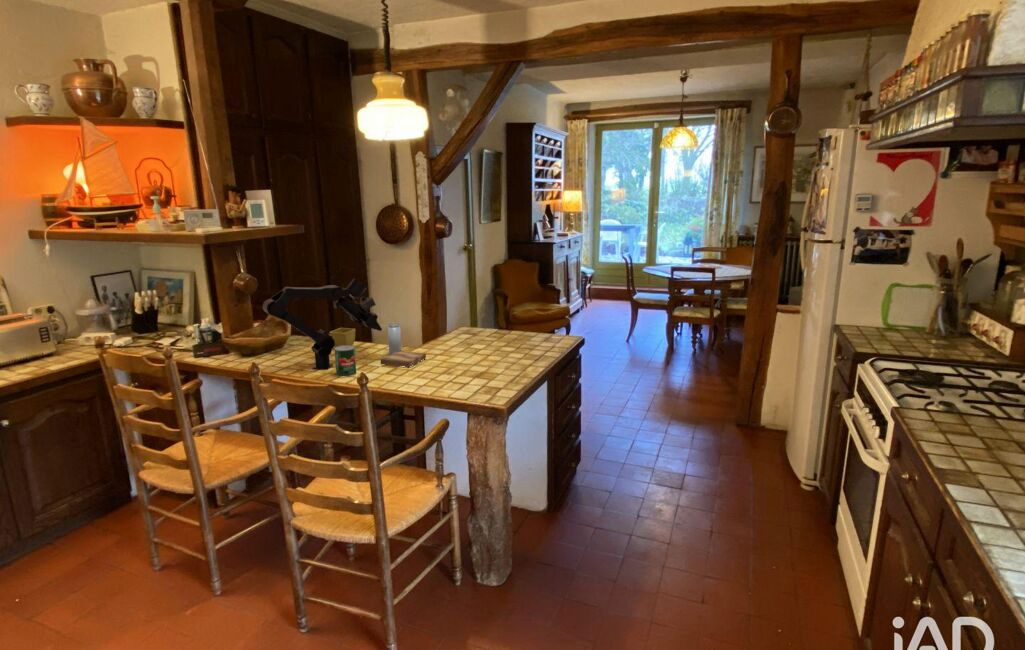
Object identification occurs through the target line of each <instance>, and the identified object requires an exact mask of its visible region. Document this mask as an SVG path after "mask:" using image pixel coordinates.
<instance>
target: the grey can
mask: <svg viewBox="0 0 1025 650" xmlns="http://www.w3.org/2000/svg"><path fill="white" fill-rule="evenodd" d="M387 339H388V353H389V354H393V353H395V352H397V351H402V350H403V349H402V331H401V325H400V323H390V324H388V326H387Z"/></svg>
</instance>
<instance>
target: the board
mask: <svg viewBox="0 0 1025 650" xmlns="http://www.w3.org/2000/svg"><path fill="white" fill-rule="evenodd" d="M425 358H426V359H427V353H422V352H412V351H405V350H404V351H397V352H395V353H393V354H390V355H387V356H384V357H382V358H380V365H381V364H385V365H384V366H388V365H394V366H393V367H396V366H405V367H410V366H412V365H414V364H416V363H418V362H420V361H421V360H423V359H425ZM420 363H421V362H420ZM418 364H419V363H418ZM416 365H417V364H416ZM414 366H415V365H414ZM405 367H404V368H405ZM412 367H413V366H412ZM410 368H411V367H410Z"/></svg>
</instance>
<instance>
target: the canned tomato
mask: <svg viewBox="0 0 1025 650" xmlns="http://www.w3.org/2000/svg"><path fill="white" fill-rule="evenodd" d="M333 349H334V362H335V363H334V364H335V375H336V376H337V377H339V376H348V377H351V376H350V375H353V376H355V375H356V374H357V364H356V353H355V352H356V351H355V350H356V349H355V346H354V345H353V346H351V345H343V346H338V347H334V348H333ZM354 374H355V375H354Z"/></svg>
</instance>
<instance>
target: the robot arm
mask: <svg viewBox="0 0 1025 650" xmlns="http://www.w3.org/2000/svg"><path fill="white" fill-rule="evenodd" d="M366 290H367V287H366V285H365V284H363V283H361V282H360V281H359V280H357V279H356V278H353V279H352V280H351V281H350V283H349V284H348V285H347V286H346V287H344V286H343V287H340V286H337V285H334V284H329V285H324V286H323V285H322V286H320V287H307V286H306V287H305V286H304V287H302V286H301V287H296V286H295V287H292V286H285V287H283V288H282V289H281V290H280V291H279V292H277V293H276V294H275V295H273V296H271V297H270V298H268V299H266V300H264V301H263V303H262V310H263V311H264V312H265V313H266V314H267V315H270V316H273V317H275V318H277V319H279V320H283V321H285V322H286V323H287V324H289V325H290V326H292V327H294V328H295V329H296V330H297V331H299V332H301V333H303V334H304V335H306V336H307V337H309V338H310V339H311V341H313V343H314V344H313V345H312V346H311V348H310V349H311V351H312V353H314V361H315V362H314V363H315V365H314V366H312V370H329V369H330V368H332V367H333V366H334V364H333V363H331V361H330V355H331V354H332V351H333V349H334V348H335V347H334V346H335V341H334V339H333V338H332V337H333V336H331V335H330V333H328V332H327V331H325V330H323V329H321V328H320V329H319V331H317V330H316V329H314V328H313V327H311V326H310V325H309V324H307V323H306V322H304V321H302V320H301V319H299V318H298V317H296V316H294V315H293V314H292V313H291V312H289V311H288V310H287V309H286V307H285V306H287V304H288V303H289V301H290V300H291V299H292V298H323V299H325V300H326V299H328V300H331V301H333V308H334V309H339V308H341V309H343V310H344V311H345V312H346V313H347V315H349V319H351V320H352V321H353V322H355V323H358V324H360V325H364V326H365V327H367V328H369V329H373V330H376V331H379V332H382V330H383V328H382V326H381V325H380V324H379V322H378V317H379V316H378V315H377V314H376V313H375V312H369V309H371V308H372V307H375V306H376V304H377V303H376V301H375V300H374V298H373V297H370V296H368V297H365V296H362V295H363V293H365V291H366ZM361 296H362V297H361ZM355 299H360V300H359V302H356V300H355ZM328 368H329V369H328Z"/></svg>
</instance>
